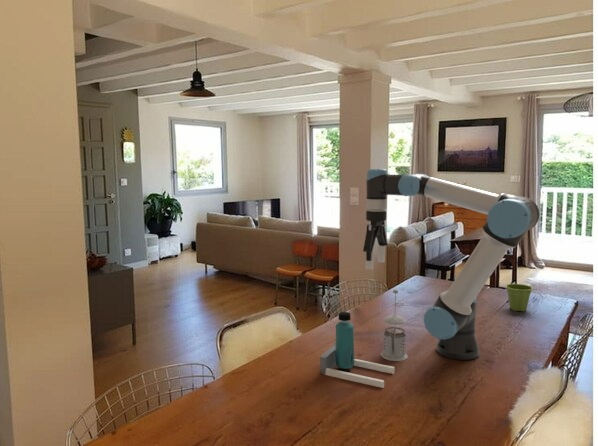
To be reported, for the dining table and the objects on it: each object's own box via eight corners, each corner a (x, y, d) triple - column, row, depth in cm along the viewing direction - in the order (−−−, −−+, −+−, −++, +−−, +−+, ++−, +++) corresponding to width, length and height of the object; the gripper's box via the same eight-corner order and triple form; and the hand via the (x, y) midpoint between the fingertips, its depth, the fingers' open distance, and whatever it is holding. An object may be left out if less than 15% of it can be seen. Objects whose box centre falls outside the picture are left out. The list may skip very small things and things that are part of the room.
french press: (409, 352, 176) (410, 287, 173) (405, 364, 165) (407, 295, 162) (382, 348, 179) (384, 285, 176) (377, 361, 168) (379, 293, 165)
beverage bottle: (353, 373, 158) (353, 316, 156) (333, 372, 159) (333, 315, 157) (355, 365, 164) (355, 310, 162) (336, 364, 166) (336, 309, 163)
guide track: (394, 372, 159) (394, 355, 158) (382, 388, 148) (383, 370, 147) (334, 360, 169) (335, 344, 169) (320, 373, 158) (320, 356, 158)
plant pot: (532, 308, 228) (534, 285, 226) (529, 314, 218) (531, 291, 216) (506, 304, 234) (507, 282, 232) (502, 310, 224) (503, 287, 222)
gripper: (377, 206, 189) (376, 258, 191) (354, 213, 167) (354, 271, 170) (395, 207, 185) (394, 260, 188) (374, 214, 163) (374, 273, 166)
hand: (375, 265), depth 179 cm, fingers open, 13 cm apart
